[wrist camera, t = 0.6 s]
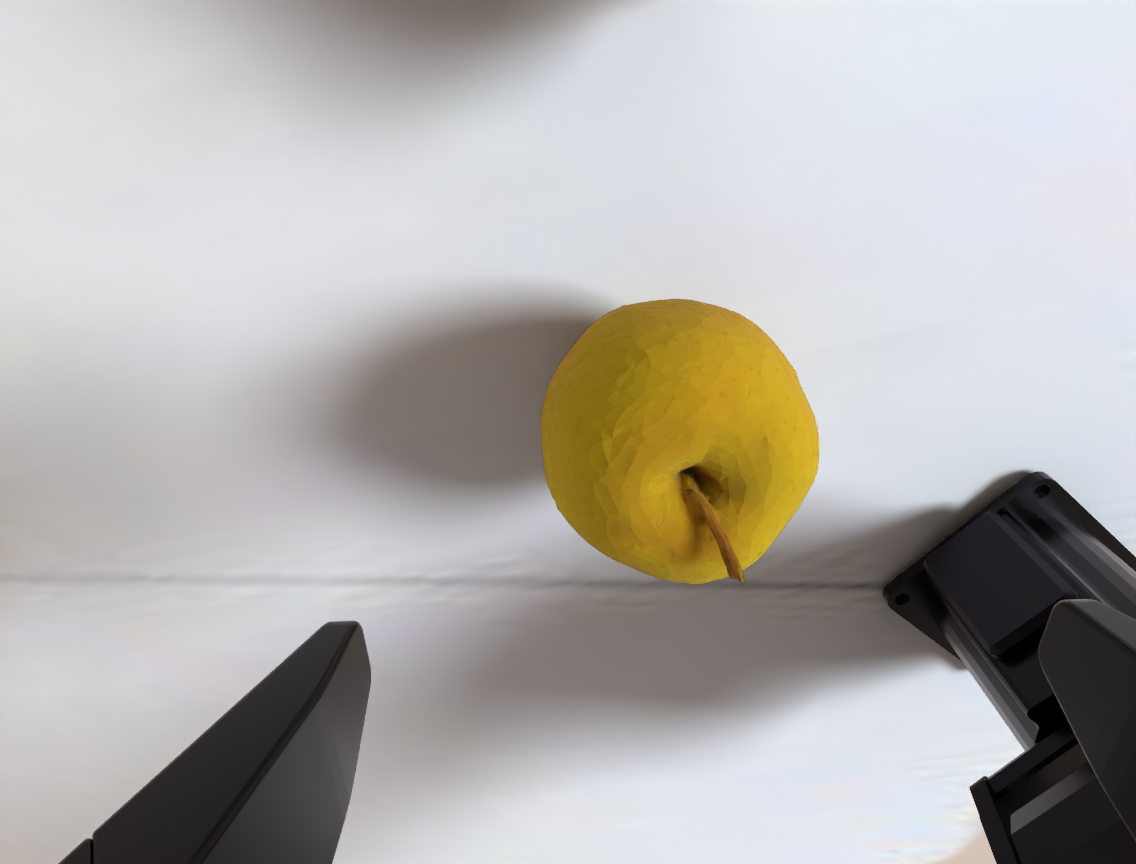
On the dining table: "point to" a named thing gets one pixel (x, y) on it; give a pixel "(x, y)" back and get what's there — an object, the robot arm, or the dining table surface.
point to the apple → (678, 440)
